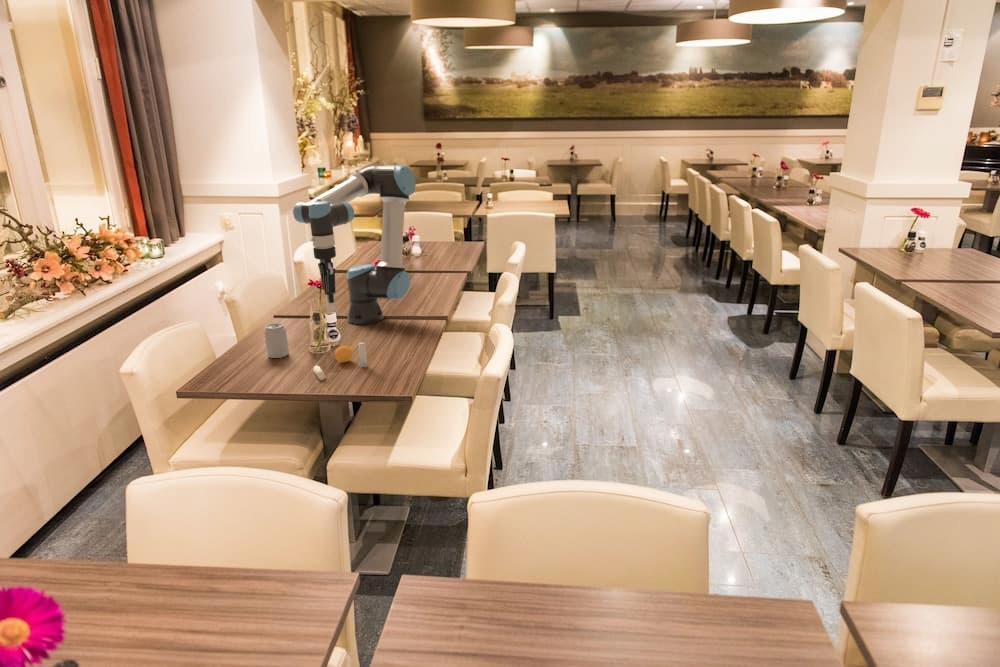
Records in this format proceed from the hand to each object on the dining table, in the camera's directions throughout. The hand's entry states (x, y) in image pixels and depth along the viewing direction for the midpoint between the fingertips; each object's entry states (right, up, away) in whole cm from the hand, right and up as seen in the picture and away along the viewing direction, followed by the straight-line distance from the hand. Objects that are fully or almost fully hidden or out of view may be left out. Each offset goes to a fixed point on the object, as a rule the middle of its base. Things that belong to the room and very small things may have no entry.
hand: (331, 310), depth 244 cm
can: (-20, -17, +4) cm, 27 cm away
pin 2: (+14, -20, -8) cm, 25 cm away
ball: (+6, -16, -5) cm, 17 cm away
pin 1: (-2, -21, -12) cm, 24 cm away
